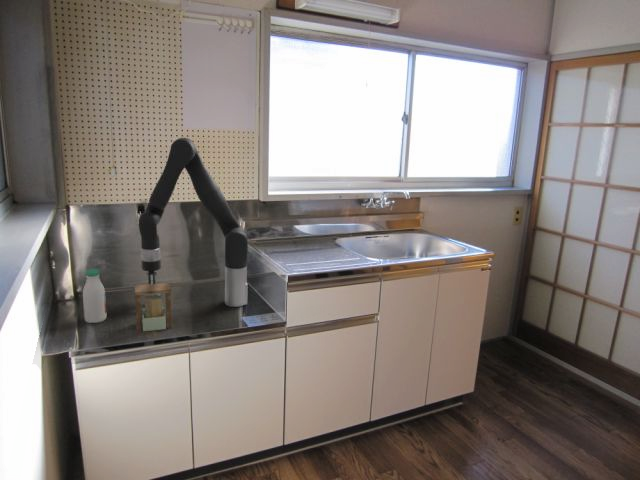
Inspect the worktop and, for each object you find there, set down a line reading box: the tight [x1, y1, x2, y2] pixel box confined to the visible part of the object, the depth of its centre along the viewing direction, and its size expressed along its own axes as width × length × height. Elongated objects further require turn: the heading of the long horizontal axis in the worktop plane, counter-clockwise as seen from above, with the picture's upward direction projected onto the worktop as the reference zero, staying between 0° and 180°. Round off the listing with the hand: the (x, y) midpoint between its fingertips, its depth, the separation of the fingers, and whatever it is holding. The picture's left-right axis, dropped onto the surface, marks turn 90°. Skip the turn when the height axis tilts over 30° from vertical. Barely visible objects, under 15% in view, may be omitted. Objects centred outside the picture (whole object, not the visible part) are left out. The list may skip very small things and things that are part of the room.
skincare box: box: [144, 294, 164, 318], centre depth 174 cm, size 6×4×12 cm
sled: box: [141, 293, 167, 332], centre depth 180 cm, size 8×21×7 cm, turn 21°
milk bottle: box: [82, 268, 108, 324], centre depth 175 cm, size 8×8×20 cm
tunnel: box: [134, 282, 173, 333], centre depth 174 cm, size 12×7×16 cm, turn 111°
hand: (152, 297), depth 194 cm, fingers closed
